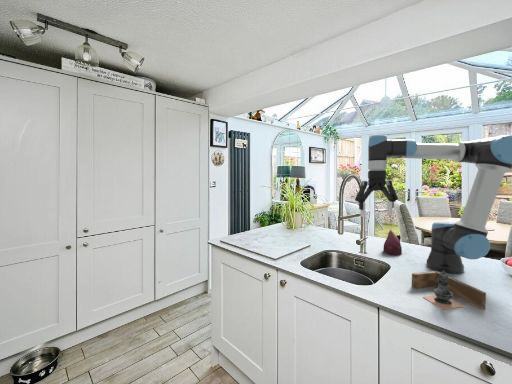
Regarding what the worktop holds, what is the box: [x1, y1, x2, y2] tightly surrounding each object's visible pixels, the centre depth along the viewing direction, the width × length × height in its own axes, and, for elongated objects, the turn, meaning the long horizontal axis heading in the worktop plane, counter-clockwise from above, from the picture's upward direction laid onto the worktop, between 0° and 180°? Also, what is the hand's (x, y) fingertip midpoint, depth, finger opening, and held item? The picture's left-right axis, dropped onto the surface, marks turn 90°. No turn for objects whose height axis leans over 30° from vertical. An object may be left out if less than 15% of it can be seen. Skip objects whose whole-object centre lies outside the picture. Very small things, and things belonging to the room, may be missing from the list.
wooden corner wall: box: [411, 270, 487, 310], centre depth 97 cm, size 12×20×6 cm, turn 9°
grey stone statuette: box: [433, 270, 454, 305], centre depth 94 cm, size 6×6×12 cm
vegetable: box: [382, 229, 403, 256], centre depth 151 cm, size 10×10×15 cm
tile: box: [422, 294, 466, 311], centre depth 94 cm, size 9×9×1 cm
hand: (376, 216), depth 116 cm, fingers open, 13 cm apart
